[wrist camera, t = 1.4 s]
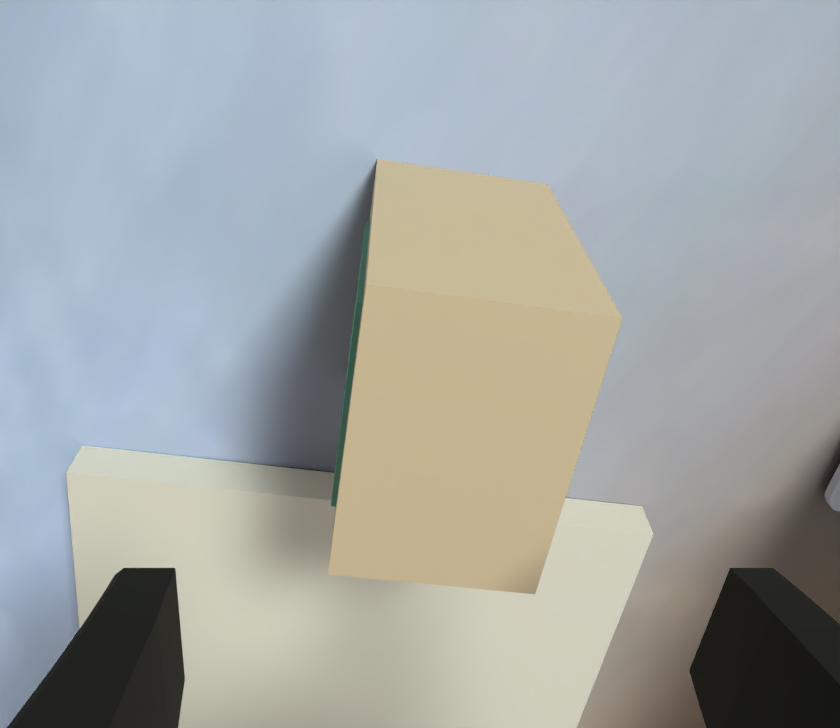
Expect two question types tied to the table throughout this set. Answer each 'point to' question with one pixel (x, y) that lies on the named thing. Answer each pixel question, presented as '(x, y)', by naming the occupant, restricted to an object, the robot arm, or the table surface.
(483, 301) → the carton
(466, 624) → the shelf board
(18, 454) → the table surface
